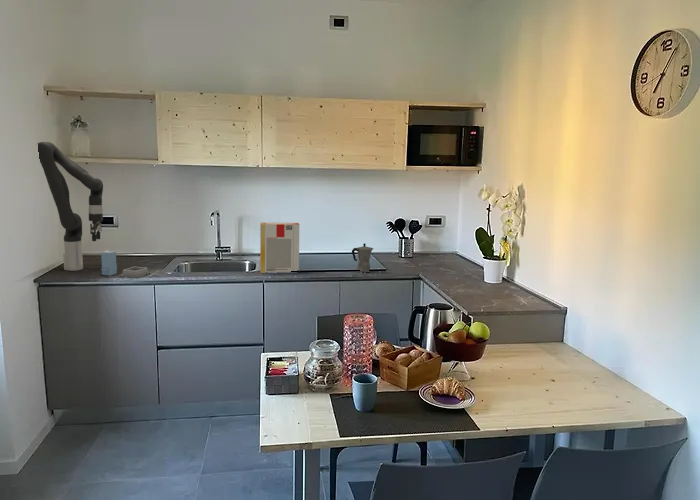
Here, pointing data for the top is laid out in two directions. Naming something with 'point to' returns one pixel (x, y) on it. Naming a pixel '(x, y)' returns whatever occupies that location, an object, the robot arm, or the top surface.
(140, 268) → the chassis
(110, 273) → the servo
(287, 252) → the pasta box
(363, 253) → the coffeepot
